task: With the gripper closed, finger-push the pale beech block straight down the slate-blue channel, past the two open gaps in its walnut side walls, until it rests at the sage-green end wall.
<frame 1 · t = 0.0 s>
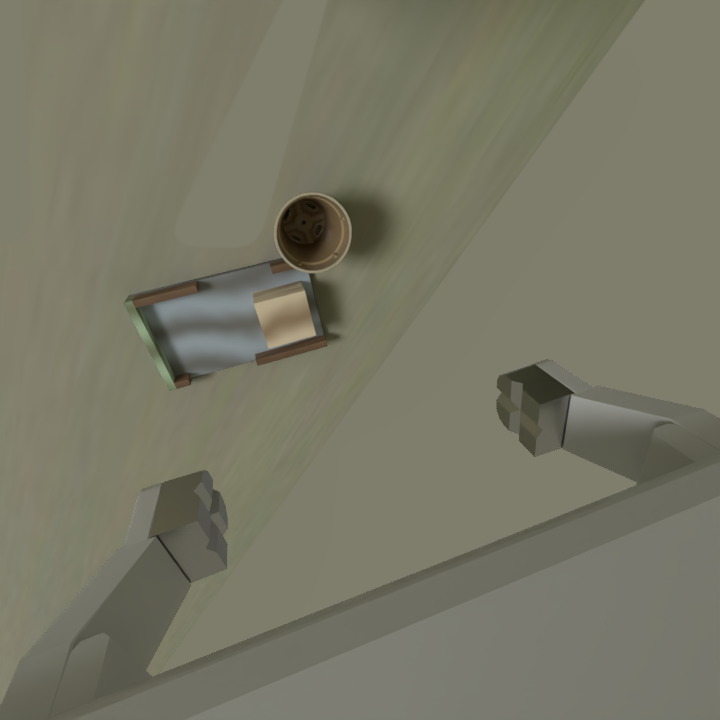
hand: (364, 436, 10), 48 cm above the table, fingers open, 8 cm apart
beech block: (282, 308, 57), point 1 cm above the table, touching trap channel
flower pot: (303, 222, 53), on the table
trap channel: (235, 318, 57), on the table
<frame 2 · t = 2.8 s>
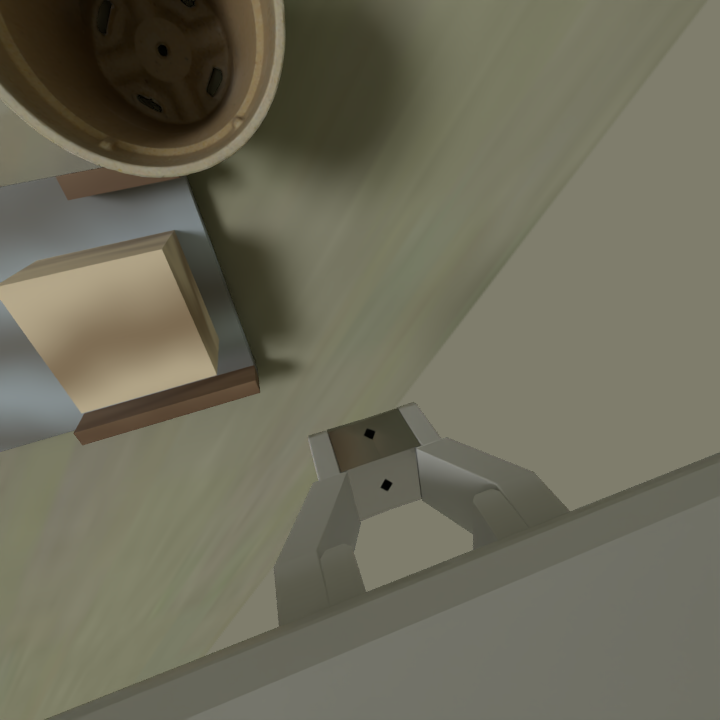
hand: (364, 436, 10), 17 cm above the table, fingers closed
beech block: (137, 304, 22), point 1 cm above the table, touching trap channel
flower pot: (166, 56, 19), on the table
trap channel: (15, 329, 22), on the table
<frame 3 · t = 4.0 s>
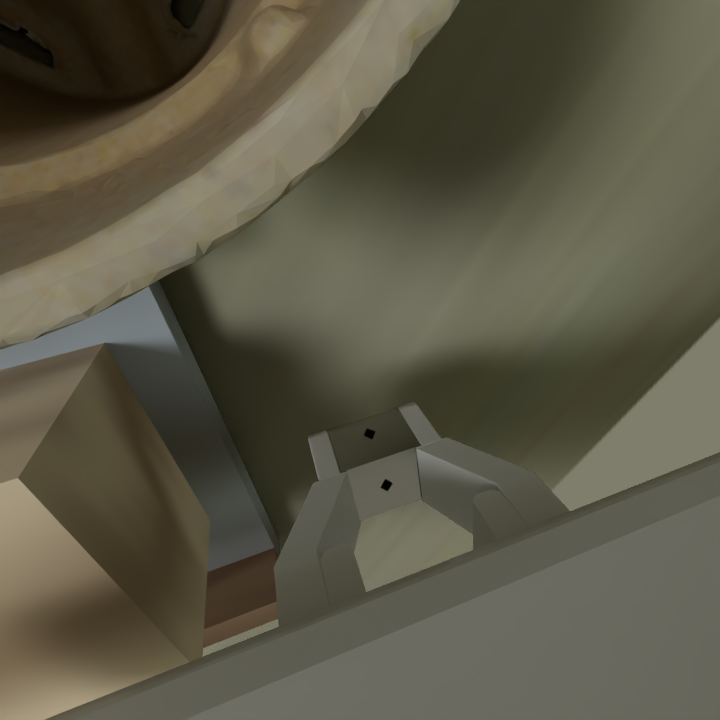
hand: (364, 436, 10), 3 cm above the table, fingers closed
beech block: (36, 486, 11), point 1 cm above the table, touching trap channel
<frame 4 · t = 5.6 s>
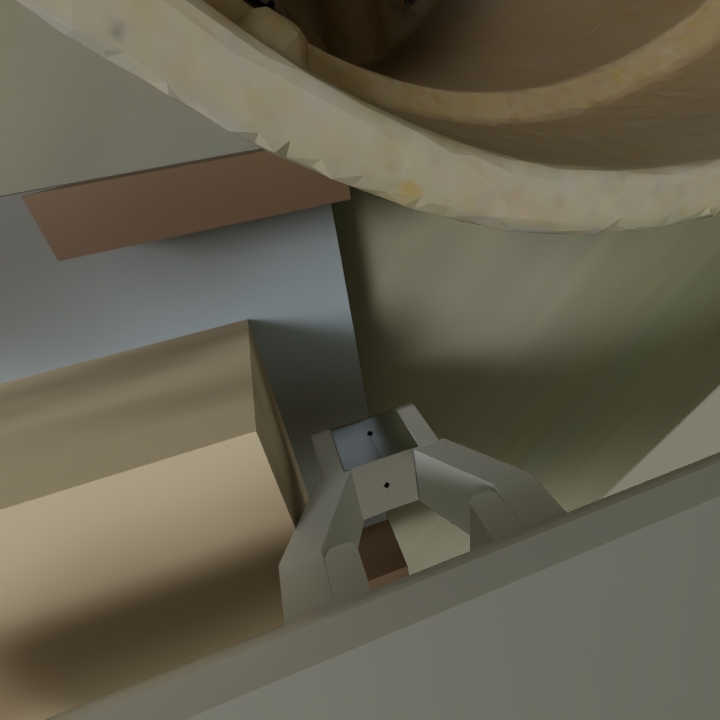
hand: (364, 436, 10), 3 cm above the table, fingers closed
beech block: (163, 461, 11), point 1 cm above the table, touching gripper, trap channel
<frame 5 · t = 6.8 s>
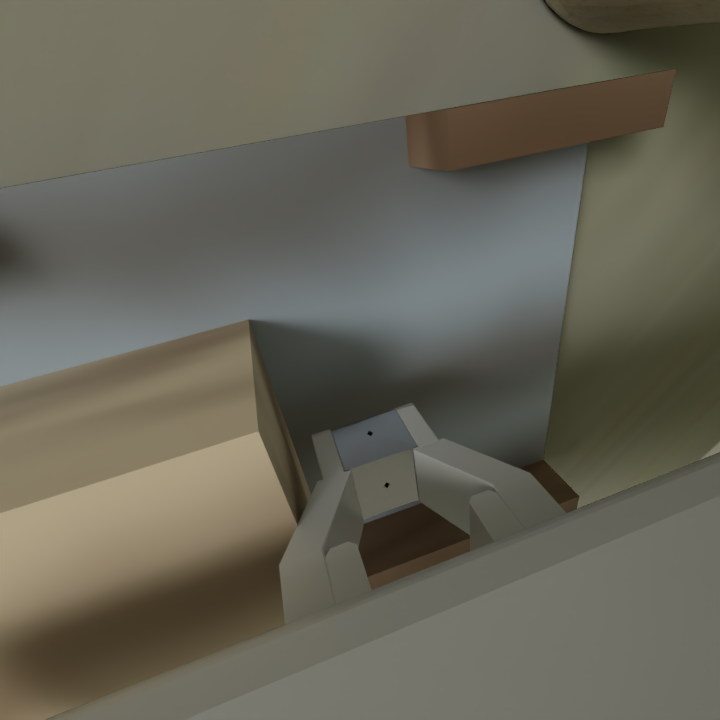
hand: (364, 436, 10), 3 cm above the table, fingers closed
beech block: (166, 461, 11), point 1 cm above the table, touching gripper, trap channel
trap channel: (201, 421, 12), on the table
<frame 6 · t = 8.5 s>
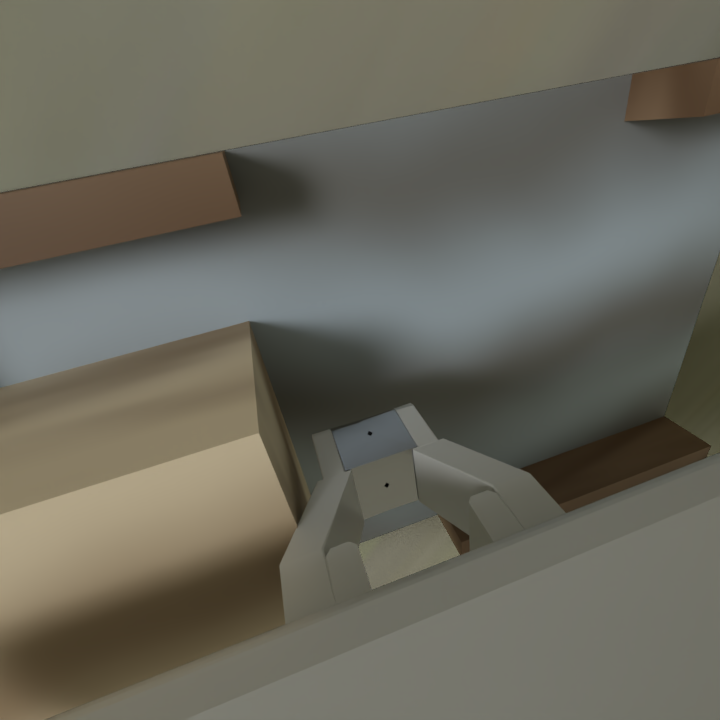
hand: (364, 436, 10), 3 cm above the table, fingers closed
beech block: (166, 462, 11), point 1 cm above the table, touching gripper, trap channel
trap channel: (386, 368, 13), on the table
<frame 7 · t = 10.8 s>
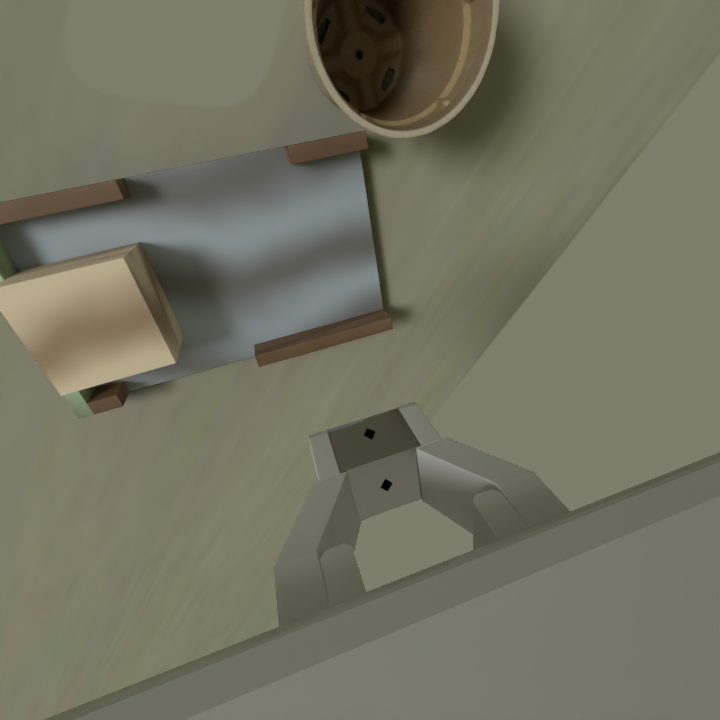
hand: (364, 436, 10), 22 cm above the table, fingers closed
beech block: (111, 304, 26), point 1 cm above the table, touching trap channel
flower pot: (356, 59, 25), on the table
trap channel: (215, 272, 28), on the table
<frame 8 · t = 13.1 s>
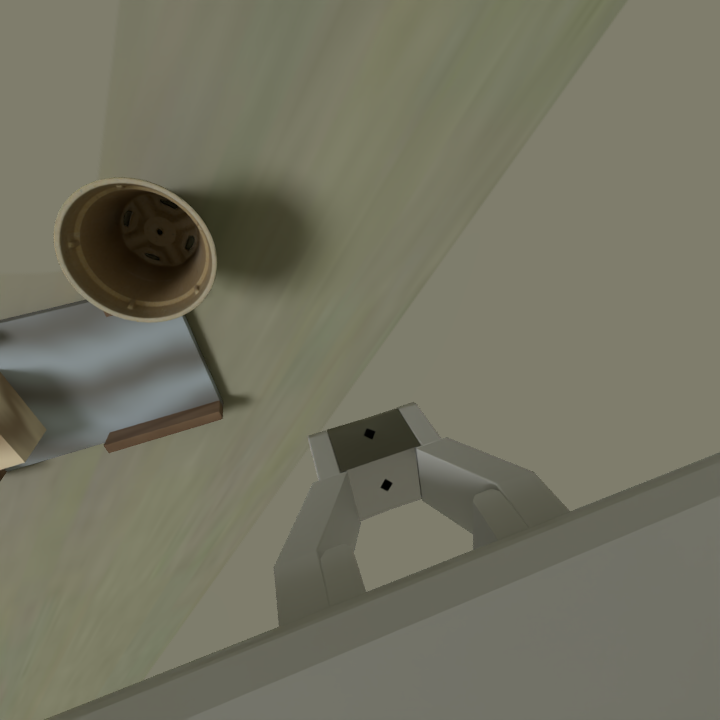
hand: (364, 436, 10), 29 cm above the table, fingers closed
flower pot: (161, 231, 33), on the table
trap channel: (69, 381, 36), on the table
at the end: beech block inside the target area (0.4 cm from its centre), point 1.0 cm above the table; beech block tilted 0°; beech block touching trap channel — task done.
